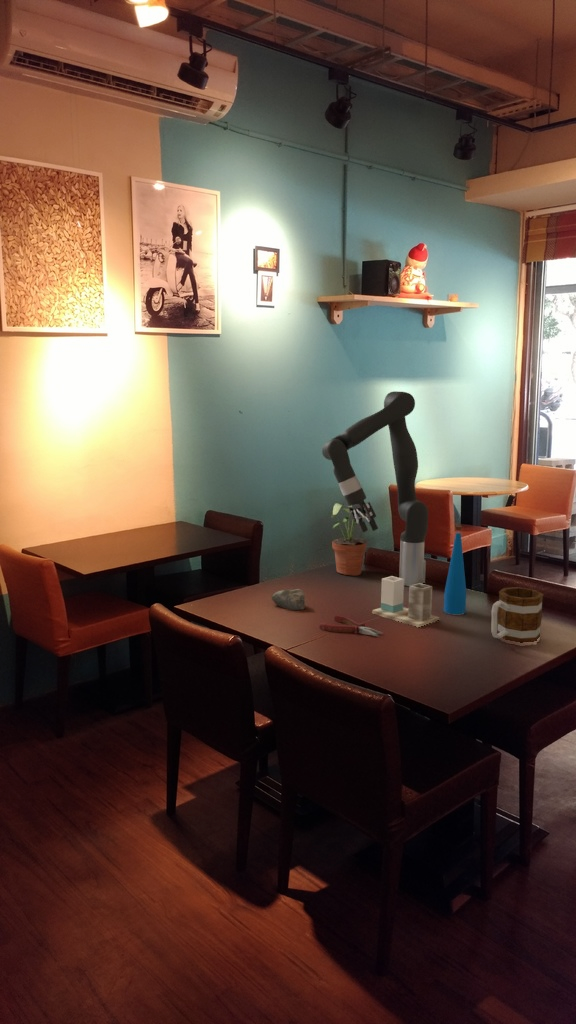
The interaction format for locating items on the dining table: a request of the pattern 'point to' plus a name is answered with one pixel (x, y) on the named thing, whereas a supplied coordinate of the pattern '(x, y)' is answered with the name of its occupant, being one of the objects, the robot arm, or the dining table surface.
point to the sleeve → (392, 594)
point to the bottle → (456, 580)
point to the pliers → (349, 627)
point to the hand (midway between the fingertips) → (370, 530)
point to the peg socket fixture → (414, 607)
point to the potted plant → (348, 548)
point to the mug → (517, 614)
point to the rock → (290, 599)
